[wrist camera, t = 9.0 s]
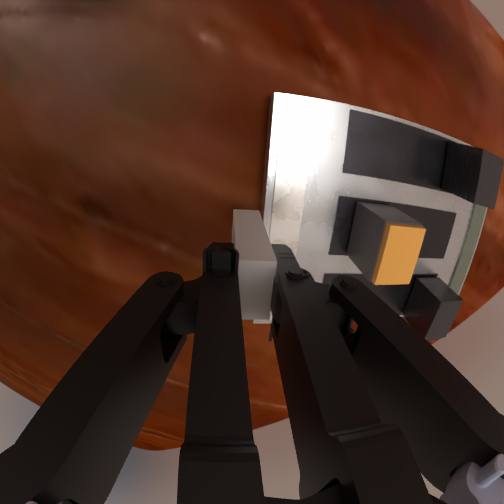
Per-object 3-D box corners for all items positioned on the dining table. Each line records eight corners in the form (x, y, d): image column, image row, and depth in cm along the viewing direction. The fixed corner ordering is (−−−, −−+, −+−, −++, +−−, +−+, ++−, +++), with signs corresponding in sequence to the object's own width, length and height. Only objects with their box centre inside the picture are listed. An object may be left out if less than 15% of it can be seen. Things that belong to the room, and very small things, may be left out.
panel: (251, 308, 24) (258, 362, 18) (270, 95, 17) (289, 81, 11) (442, 300, 26) (472, 333, 20) (483, 154, 19) (528, 168, 13)
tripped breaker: (346, 254, 20) (372, 286, 16) (357, 201, 18) (389, 223, 14) (380, 255, 20) (409, 285, 16) (391, 205, 18) (427, 227, 14)
